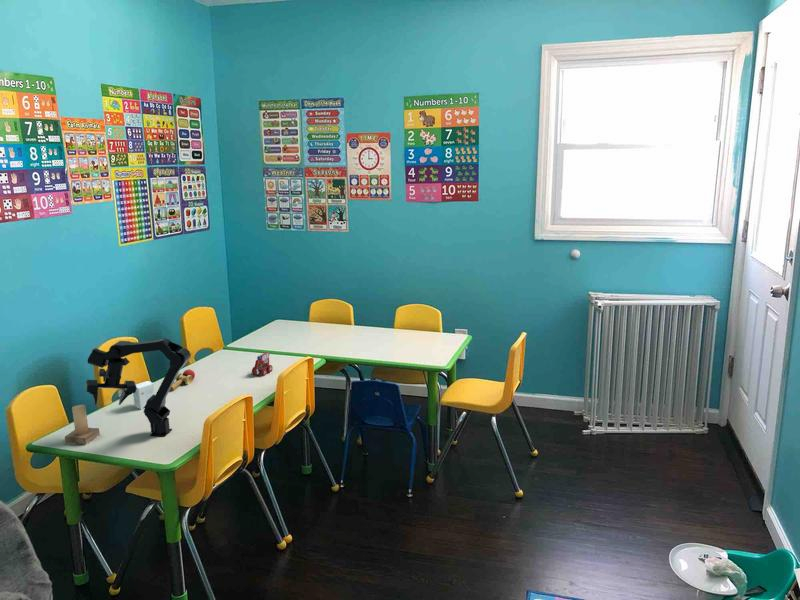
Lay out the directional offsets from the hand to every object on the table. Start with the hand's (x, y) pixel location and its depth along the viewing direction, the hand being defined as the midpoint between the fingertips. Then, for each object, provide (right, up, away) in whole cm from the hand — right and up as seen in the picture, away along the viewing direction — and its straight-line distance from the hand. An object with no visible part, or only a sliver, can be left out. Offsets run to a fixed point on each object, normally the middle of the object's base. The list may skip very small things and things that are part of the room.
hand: (107, 404), depth 262 cm
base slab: (-8, -14, -4) cm, 16 cm away
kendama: (+12, 0, +55) cm, 56 cm away
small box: (+4, -6, +30) cm, 30 cm away
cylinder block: (-8, -11, -4) cm, 14 cm away
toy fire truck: (+49, +4, +70) cm, 85 cm away
